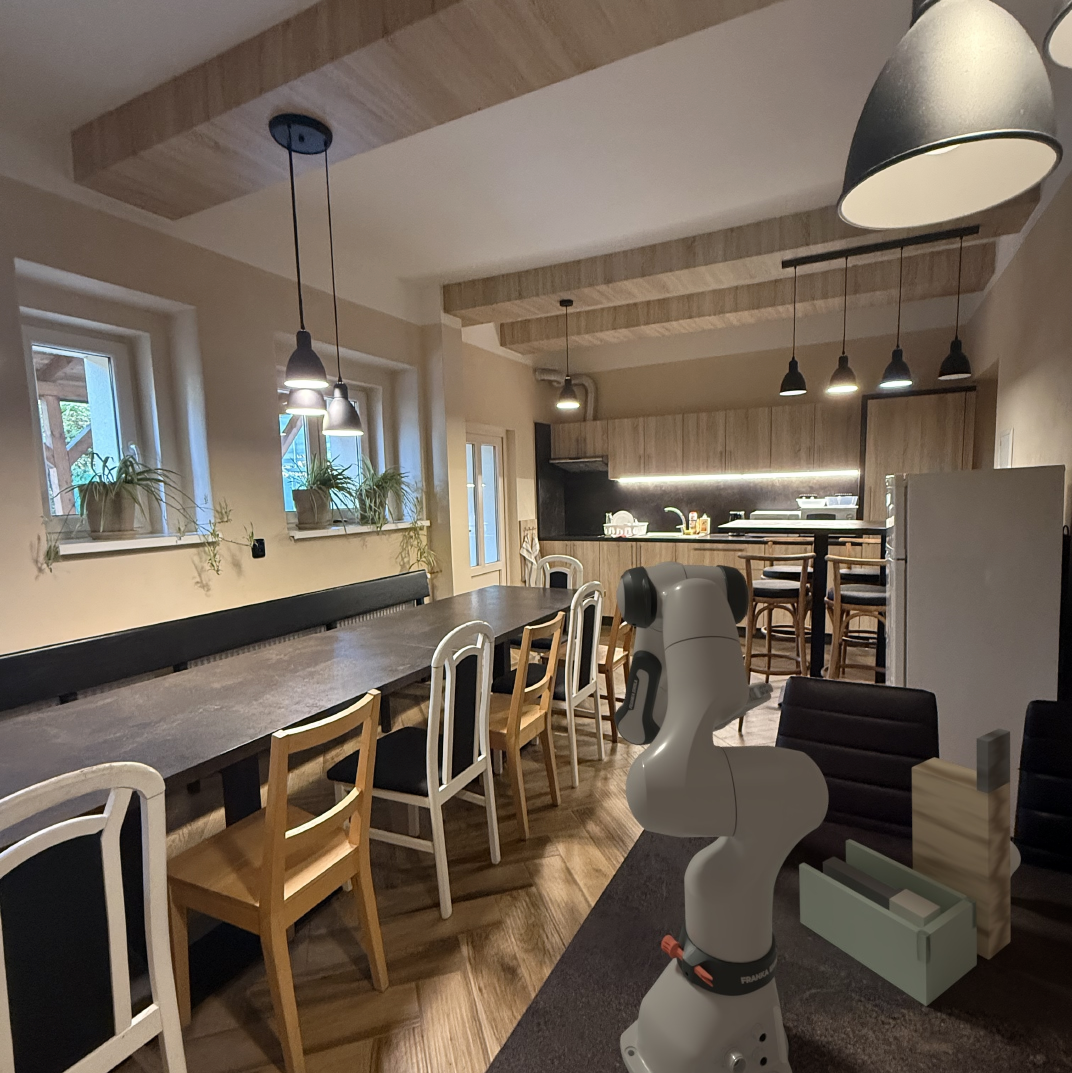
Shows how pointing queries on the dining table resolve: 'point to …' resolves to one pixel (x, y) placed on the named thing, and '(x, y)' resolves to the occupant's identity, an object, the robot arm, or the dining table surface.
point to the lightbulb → (1014, 858)
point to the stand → (968, 833)
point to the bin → (893, 925)
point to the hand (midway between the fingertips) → (753, 692)
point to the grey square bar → (883, 893)
